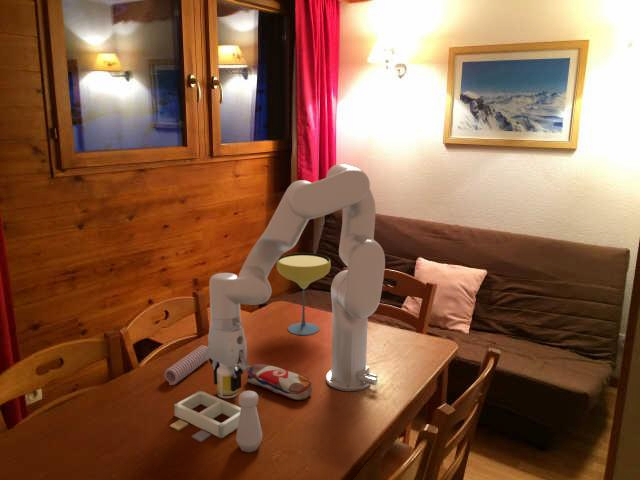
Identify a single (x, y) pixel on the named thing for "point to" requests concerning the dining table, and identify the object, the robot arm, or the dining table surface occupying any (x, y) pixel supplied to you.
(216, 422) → the socket block
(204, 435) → the slate tag
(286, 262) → the cocktail glass
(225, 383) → the supplement bottle
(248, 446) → the salt shaker
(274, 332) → the dining table surface
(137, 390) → the dining table surface
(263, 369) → the pencil case
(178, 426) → the brass tag
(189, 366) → the coil
